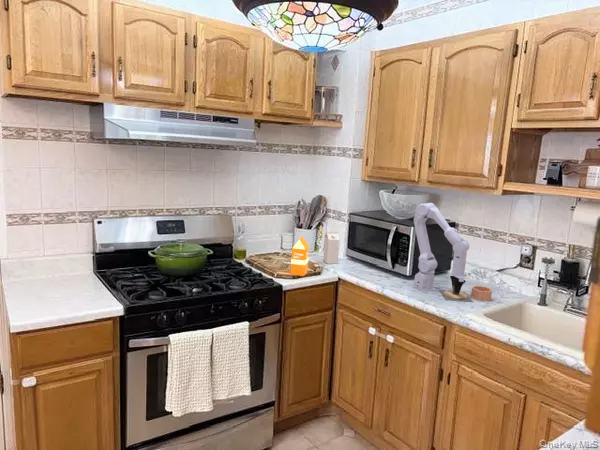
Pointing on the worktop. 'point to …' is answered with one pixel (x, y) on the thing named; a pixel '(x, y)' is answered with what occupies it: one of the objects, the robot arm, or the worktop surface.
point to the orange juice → (300, 257)
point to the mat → (455, 299)
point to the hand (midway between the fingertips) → (455, 291)
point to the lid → (455, 294)
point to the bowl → (481, 293)
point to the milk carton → (331, 248)
